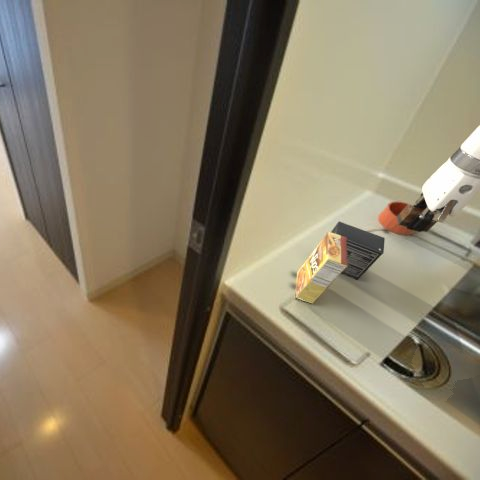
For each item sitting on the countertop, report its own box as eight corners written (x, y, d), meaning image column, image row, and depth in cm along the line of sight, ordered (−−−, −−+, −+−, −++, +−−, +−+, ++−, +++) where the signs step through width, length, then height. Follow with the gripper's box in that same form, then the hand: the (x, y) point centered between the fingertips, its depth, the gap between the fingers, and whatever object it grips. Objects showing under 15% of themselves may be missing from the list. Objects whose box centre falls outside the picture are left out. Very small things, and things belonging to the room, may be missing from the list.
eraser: (423, 223, 80) (436, 211, 77) (426, 232, 78) (439, 220, 75) (396, 216, 82) (407, 204, 79) (398, 224, 80) (410, 212, 77)
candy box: (296, 272, 83) (326, 230, 71) (314, 277, 82) (347, 236, 70) (293, 299, 77) (326, 258, 66) (312, 305, 76) (349, 266, 65)
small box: (360, 263, 85) (386, 236, 77) (358, 280, 81) (384, 254, 74) (318, 246, 89) (339, 219, 81) (314, 262, 85) (335, 235, 77)
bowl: (411, 217, 98) (422, 206, 95) (417, 239, 92) (429, 228, 89) (376, 209, 100) (385, 197, 97) (380, 229, 94) (390, 218, 91)
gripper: (512, 189, 60) (436, 252, 74) (483, 145, 71) (422, 208, 84) (465, 178, 62) (400, 242, 76) (444, 137, 72) (390, 200, 86)
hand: (412, 223), depth 80 cm, fingers closed on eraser, 3 cm apart
